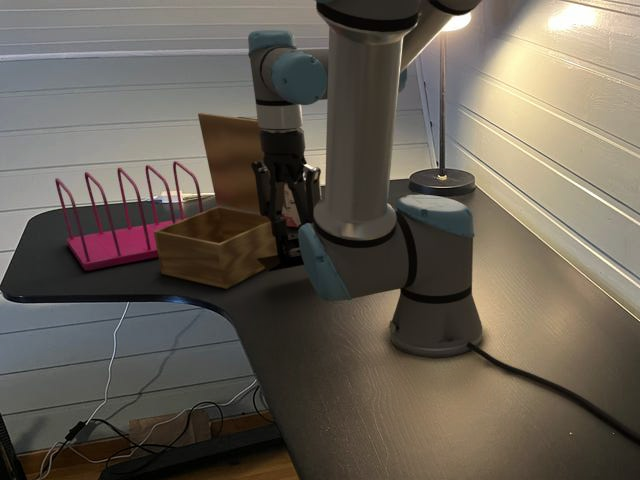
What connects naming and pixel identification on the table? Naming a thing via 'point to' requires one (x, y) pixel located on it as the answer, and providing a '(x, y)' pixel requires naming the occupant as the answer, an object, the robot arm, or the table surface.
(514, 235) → the table surface
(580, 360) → the table surface
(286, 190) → the ink box
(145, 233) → the file sorter
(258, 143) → the chest lid
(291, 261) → the black angular piece
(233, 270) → the chest
